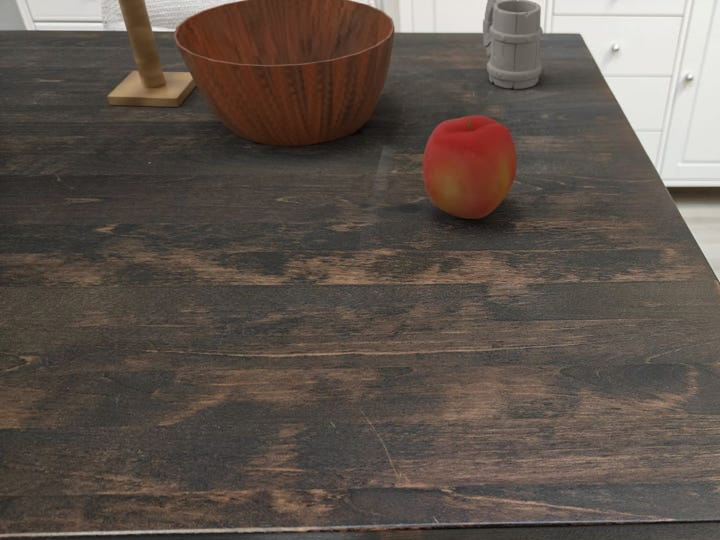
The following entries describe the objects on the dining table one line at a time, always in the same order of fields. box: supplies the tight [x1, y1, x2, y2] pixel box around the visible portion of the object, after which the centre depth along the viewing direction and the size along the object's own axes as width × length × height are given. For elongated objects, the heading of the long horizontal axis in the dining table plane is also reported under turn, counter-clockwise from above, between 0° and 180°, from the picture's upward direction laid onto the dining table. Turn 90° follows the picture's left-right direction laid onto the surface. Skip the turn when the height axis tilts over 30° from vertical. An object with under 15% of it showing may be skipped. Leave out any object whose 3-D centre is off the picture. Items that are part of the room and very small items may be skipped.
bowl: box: [172, 0, 396, 147], centre depth 90 cm, size 25×25×11 cm
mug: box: [482, 0, 544, 90], centre depth 103 cm, size 8×12×12 cm, turn 31°
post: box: [107, 0, 197, 108], centre depth 94 cm, size 9×9×16 cm
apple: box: [422, 115, 518, 220], centre depth 74 cm, size 10×10×10 cm
